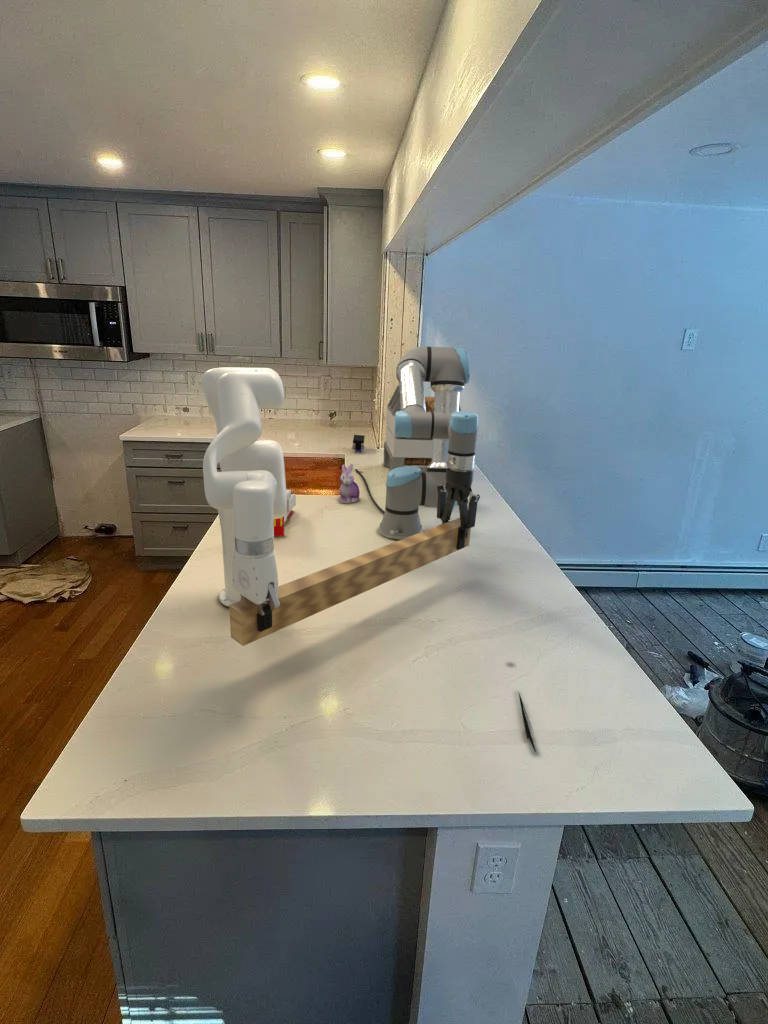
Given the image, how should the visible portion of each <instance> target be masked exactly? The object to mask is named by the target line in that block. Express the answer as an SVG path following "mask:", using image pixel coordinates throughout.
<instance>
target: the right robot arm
mask: <svg viewBox="0 0 768 1024" xmlns="http://www.w3.org/2000/svg"><path fill="white" fill-rule="evenodd" d="M469 356H470V355H469V352H468V351H467V350H466V349H465V348H461V347H454V346H451V347H450V346H426V345H421V346H417V347H414V348H412V349H410V350H409V351H407V352H405V354H404V355H402V357H401V358H400V359H399V361H398V363H397V365H396V367H395V368H396V369H395V375H396V380H397V381H398V383H399V385H400V406H401V411H398V412H396V413H395V424H394V433H395V435H396V436H397V437H404V438H430V439H433V442H432V462H431V464H430V465H428V466H426V472H424V471H423V472H422V469H421V468H420V467H419V466H407V465H404V467H398V468H395V469H392V470H391V471H390V470H389V471H388V473H387V475H386V482H385V487H386V488H385V489H386V490H385V504H384V505H385V507H384V508H385V509H384V510H383V509H382V507H380V506H379V505H378V503H377V502H376V501H375V499H374V498H373V496H372V494H371V491H370V488H369V486H368V483H367V481H366V479H365V477H364V475H363V474H362V473H361V472H360V471H359V470H358V469H357V468H355V471H356V472H357V474H359V475H360V477H361V479H362V481H363V483H364V485H365V487H366V490H367V493H368V496H369V497H370V499H371V501H372V502H373V503H374V505H375V506H376V508H377V509H378V510H379V511H380V512H381V513H383V515H382V519H381V522H379V526H378V533H379V534H380V535H381V536H382V537H385V538H387V539H389V540H395V541H399V540H402V539H405V538H407V537H410V536H413V535H415V534H418V533H420V532H423V525H422V524H421V518H420V515H419V507H436V518H437V519H439V520H440V521H441V524H444V523H447V522H449V521H452V518H451V516H452V514H453V510H454V508H455V507H457V506H458V511H459V518H460V523H461V527H460V528H458V538H457V550H458V551H460V550H462V549H464V548H465V547H464V545H465V539H466V538H467V536H468V529H470V528H471V529H472V528H474V527H476V519H477V511H478V502H479V501H480V498H481V495H480V494H476V493H474V492H473V489H472V484H473V481H474V470H473V469H475V462H476V461H475V460H476V449H477V440H478V431H479V415H478V414H477V413H476V412H472V411H467V410H466V411H465V410H461V411H459V405H460V394H461V392H463V390H465V385H467V384H469V382H470V380H471V362H470V357H469ZM426 382H427V383H430V385H429V386H430V389H431V391H433V393H434V396H433V397H434V412H426V406H425V397H426V396H425V388H424V387H425V386H424V383H426Z"/></svg>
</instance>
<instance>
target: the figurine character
mask: <svg viewBox="0 0 768 1024" xmlns="http://www.w3.org/2000/svg"><path fill="white" fill-rule="evenodd" d="M351 447H352V450H354V453H357V452H359V453H360V454H361V453H362V450H364V449H365V435H361V434H353V439H352V446H351Z"/></svg>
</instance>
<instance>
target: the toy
mask: <svg viewBox="0 0 768 1024" xmlns="http://www.w3.org/2000/svg"><path fill="white" fill-rule="evenodd" d="M286 493H287V511H286V514H285V515H284V516H283V517H281V518H278V519H273V521H274V537H285V522H286V521H287V520H289V519H290V518H291V516H292V515H293V513H294V510H293V509H294V507H296V505H297V499H296V495H297V494H296V493H293V494H292V490H291V489H286Z"/></svg>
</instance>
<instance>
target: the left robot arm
mask: <svg viewBox="0 0 768 1024" xmlns="http://www.w3.org/2000/svg"><path fill="white" fill-rule="evenodd" d="M202 390H203V394H204V397H205V400H206V403H207V405H208V407H209V409H210V411H211V414H212V416H213V419H214V422H215V425H216V436H215V437H214V438H213V440H212V441H211V442H210V444H209V445H208V447H207V448H206V450H205V453H204V456H203V460H202V474H203V487H204V489H203V490H204V495H205V499H206V502H207V504H208V505H209V506H210V507H211V508H213V509H215V510H217V514H218V518H219V525H220V534H221V544H222V547H221V548H222V561H223V563H222V564H223V578H224V579H223V580H224V588H223V589H222V590H220V592H219V595H218V598H219V601H220V603H221V604H222V605H223V606H226V607H228V608H229V605H231V604H234V603H236V602H239V601H242V600H244V599H249V600H250V601H252V602H254V603H255V604H258V609H259V614H257V621H258V631H259V632H262V631H264V630H266V629H269V628H271V627H272V611H274V609H275V608H277V607H279V606H280V603H279V600H278V598H277V595H278V586H279V577H278V576H279V575H278V568H277V567H278V566H277V560H276V554H275V536H274V521H273V519H278V518H281V517H283V516H284V515H285V514H286V511H287V493H286V490H287V480H286V468H285V458H284V452H283V448H282V446H281V445H280V443H279V442H277V441H275V440H273V439H260V438H261V437H262V433H263V427H262V421H261V414H260V413H261V412H260V410H277V409H279V408H281V407H282V405H283V403H284V399H285V389H284V385H283V380H282V378H281V376H280V375H279V373H278V372H277V371H275V370H274V369H273V368H270V367H239V366H237V367H236V366H226V367H223V366H222V367H214V368H211V369H207V370H206V371H205V372H204V373H203V375H202ZM218 465H219V468H220V469H219V470H220V471H218ZM264 602H267V604H268V605H266V606H265V607H264V606H263V603H264Z"/></svg>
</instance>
